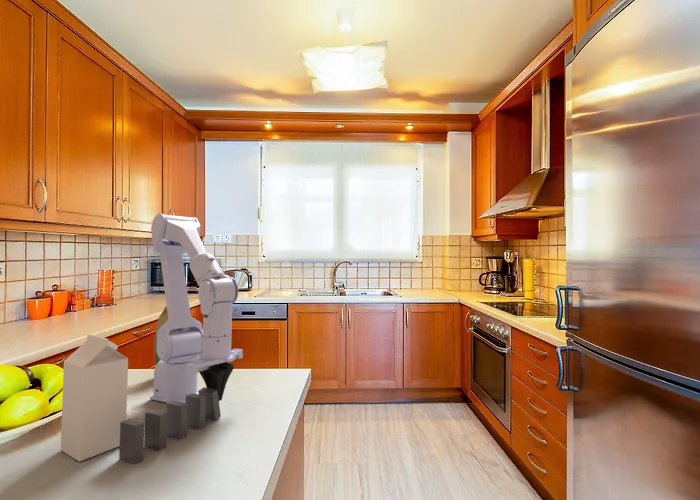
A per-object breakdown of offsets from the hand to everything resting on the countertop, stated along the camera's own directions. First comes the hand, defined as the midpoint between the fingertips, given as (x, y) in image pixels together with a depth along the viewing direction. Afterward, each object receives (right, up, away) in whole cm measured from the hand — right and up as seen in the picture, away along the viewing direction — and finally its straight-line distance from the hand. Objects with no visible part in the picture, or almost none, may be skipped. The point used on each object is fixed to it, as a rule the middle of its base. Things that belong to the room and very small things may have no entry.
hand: (215, 400), depth 78 cm
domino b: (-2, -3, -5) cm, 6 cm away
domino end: (-7, -3, -18) cm, 19 cm away
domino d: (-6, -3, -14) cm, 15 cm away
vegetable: (-23, -4, +26) cm, 35 cm away
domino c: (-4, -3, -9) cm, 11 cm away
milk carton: (-16, -3, -14) cm, 21 cm away
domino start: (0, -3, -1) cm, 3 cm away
